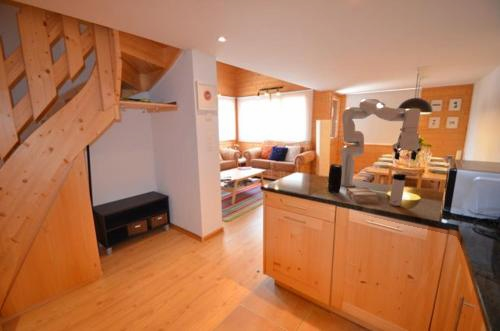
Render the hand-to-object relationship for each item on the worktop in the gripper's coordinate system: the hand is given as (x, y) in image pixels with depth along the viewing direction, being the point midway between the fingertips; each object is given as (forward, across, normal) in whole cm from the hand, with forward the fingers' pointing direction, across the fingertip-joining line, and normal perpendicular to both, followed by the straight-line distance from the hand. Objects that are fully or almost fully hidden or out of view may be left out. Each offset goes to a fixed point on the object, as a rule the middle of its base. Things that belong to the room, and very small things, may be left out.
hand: (404, 159), depth 134 cm
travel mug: (+29, -2, -1) cm, 29 cm away
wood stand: (+29, -18, +10) cm, 35 cm away
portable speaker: (+29, -31, +24) cm, 49 cm away
